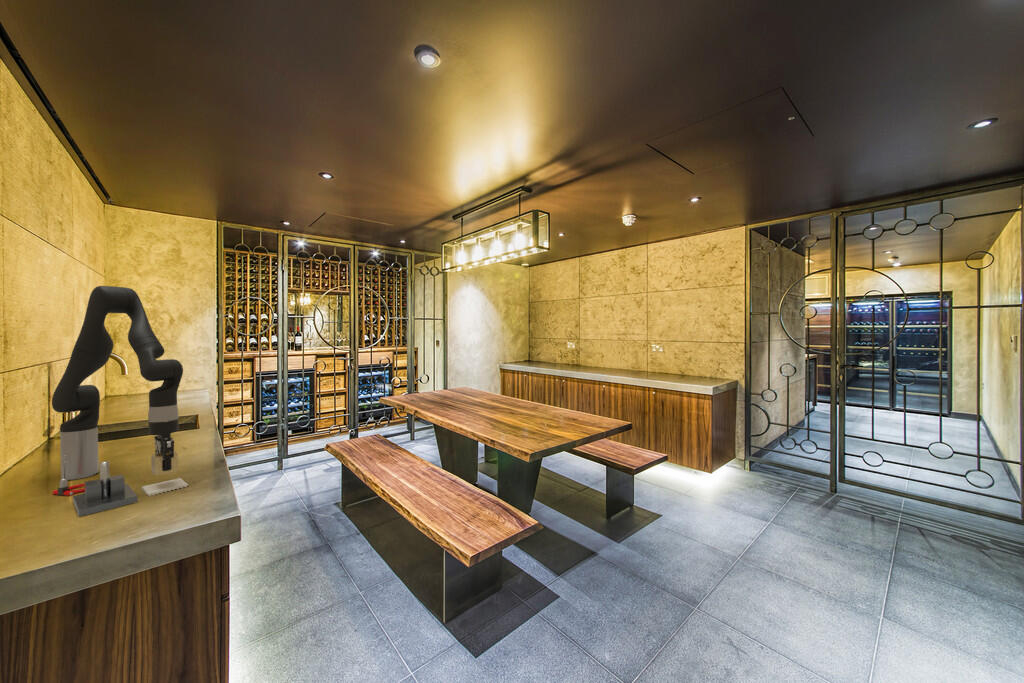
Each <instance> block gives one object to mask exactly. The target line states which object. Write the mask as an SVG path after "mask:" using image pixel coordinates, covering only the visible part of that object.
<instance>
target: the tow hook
mask: <svg viewBox="0 0 1024 683" xmlns="http://www.w3.org/2000/svg"><path fill="white" fill-rule="evenodd" d="M66 459H67V455H63V462H62V469H61V468H60V479H59V487H57V489H54V490H52V492H51V493H52V494H51V495H55V494H56V496H57V495H58V496H63V495H65V496H68V497H69V496H70V497H71V496H72V497H73V496H74V495H76V494H78V493H80V494H81V493H83V492H84V493H85V487H82V486H85V484H84V483H79V484H73V485H69V486H68V484H69V483H68V481H69V480H68V479H67V461H66ZM78 487H79V488H78Z"/></svg>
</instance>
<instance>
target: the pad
mask: <svg viewBox="0 0 1024 683" xmlns="http://www.w3.org/2000/svg"><path fill="white" fill-rule="evenodd" d="M187 486H188V487H189V484H188V483H187V482H186V481H184V480H183V479H182V478H181V477H178V478H174V479H170V480H169V479H168V480H166V481H165V480H164V481H161V482H157V483H152V484H146V485H143V486H141V490H142V489H143V490H144V491H145V492H144V491H143V490H142V491H143V492H144V493H145V494H147V495H148V496H149V497H152V496H151V495H153V496H156V495H155V494H157V495H160V494H159V493H161V494H164V493H163V492H165V493H168V492H167V491H169V492H172V491H171V490H173V491H176V490H175V489H177V490H180V489H179V488H181V489H184V488H183V487H185V488H188V487H187ZM147 495H146V496H147ZM148 496H147V497H148Z"/></svg>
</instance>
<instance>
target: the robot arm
mask: <svg viewBox="0 0 1024 683" xmlns="http://www.w3.org/2000/svg"><path fill="white" fill-rule="evenodd" d="M108 314H125V315H127V316H128V317H129V320H130V321H131V322H130V323H131V324H130V327H129V329H128V332H127V340H128V343H129V345H130V347H131V348H132V350H133V352H134V354H136V357H137V361H138V365H139V371H140V375H141V377H142V378H143V379H144V380H146V381H148V382H161V381H163V382H162V383H161V385H160V386H159V387H156V388H153V389H151V390H149V392H148V413H147V416H148V417H147V418H148V419H147V420H148V422H147V423H148V424H147V425H148V434H149V435H150V436H154V439H153V440H154V447H155V448H154V450H155V451H154V454H155V453H160V454H161V455H162V470H163V471H168V470H171V469H172V465H171V459H172V458H173V457H174V451H175V440H174V438H173V437H172V436H171V435H172V434H173V433H177V432H178V431H179V430H180V429H179V426H180V425H179V424H180V423H179V408H178V390H179V387H180V383H181V380H182V378H183V375H184V374H183V373H184V367H183V365H182V363H181V361H179V360H177V359H175V358H174V359H173V358H172V359H171V358H170V359H169V358H168V359H159V358H161V357H163V356H164V355H165V349H164V346H163V345H162V343H161V342H160V340H159V338H158V337H157V335H156V334H155V333H154V330H153V329H152V327H151V324H150V321H149V319H148V316H147V314H146V311H145V307H144V305H143V303H142V300H141V298H140V297H139V294H138V293H137V292H136V291H135V290H134V289H133V288H130V287H123V286H121V287H120V286H114V285H113V286H111V285H98V286H95V287H94V288H93V290H91V292H90V294H89V298H88V303H87V306H86V310H85V316H84V319H83V323H82V326H81V328H80V331H79V334H78V336H77V339H76V341H75V343H74V347H73V350H72V352H71V355H70V359H69V361H68V363H67V366H66V367H65V368H66V369H65V371H64V373H63V375H62V377H61V379H60V380H59V382H58V384H57V386H56V387H55V390H54V392H53V394H52V397H51V406H52V409H53V410H54V411H55V412H57V413H61V414H62V413H63V414H64V413H73V412H79V413H78V414H77V415H76V416H74V417H73V418H70V419H68V420H66V421H64V422H61V424H60V425H59V436H60V437H59V438H60V439H59V440H60V442H59V443H60V444H59V445H60V470H61V469H62V462H63V455H67V459H66V461H67V479H68V481H72V480H79V479H80V480H81V479H85V478H89V477H92V476H95V475H97V474H98V472H99V473H100V462H99V461H100V460H99V431H98V430H99V429H98V428H99V425H98V424H99V421H100V404H101V396H100V395H101V394H100V391H99V388H98V387H97V386H96V385H94V384H85V385H83V382H84V381H85V380H86V379H87V378H89V377H90V376H91V375H93V374H95V373H96V372H97V371H99V370H100V369H101V368H103V367H104V366H105V365H106V364H107V363H108V361H109V359H110V357H111V354H112V352H113V350H114V341H113V338H112V336H111V335H110V333H109V332H108V331H107V328H106V327H105V323H106V322H105V320H106V318H107V315H108ZM81 384H82V385H81ZM167 452H169V455H166V453H167ZM96 473H97V474H96ZM94 474H95V475H94Z"/></svg>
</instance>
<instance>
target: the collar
mask: <svg viewBox="0 0 1024 683" xmlns="http://www.w3.org/2000/svg"><path fill="white" fill-rule="evenodd" d="M166 455H169V452H167V453H166ZM150 458H151V460H150V461H151V472H152V474H153V475H154V476H160V475H165V474H169V473H173V472H178V470H179V468H178V466H179V465H178V463H179V462H178V452H177V451H175V450H174V457H173V458H172V459H171V465H172V469H171V470H168V471H163V470H162V455H161V454H160V453H155V452H154V453H151V454H150Z"/></svg>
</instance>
